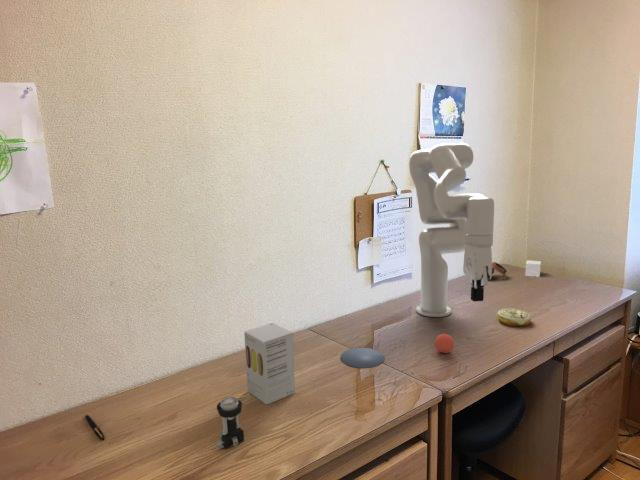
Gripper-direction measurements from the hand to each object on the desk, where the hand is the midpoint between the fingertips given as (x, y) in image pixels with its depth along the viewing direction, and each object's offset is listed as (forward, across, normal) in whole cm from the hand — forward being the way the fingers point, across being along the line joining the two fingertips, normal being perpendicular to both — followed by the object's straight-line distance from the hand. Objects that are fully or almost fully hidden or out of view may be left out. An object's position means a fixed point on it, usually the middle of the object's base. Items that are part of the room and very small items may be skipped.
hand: (477, 300), depth 144 cm
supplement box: (+16, +16, -62) cm, 66 cm away
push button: (+17, +36, -70) cm, 81 cm away
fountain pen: (+17, +26, -103) cm, 107 cm away
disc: (+16, 0, -34) cm, 38 cm away
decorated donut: (+16, -20, +22) cm, 35 cm away
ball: (+13, 0, -10) cm, 16 cm away
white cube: (+15, -74, +58) cm, 95 cm away
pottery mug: (+15, -71, +38) cm, 82 cm away
